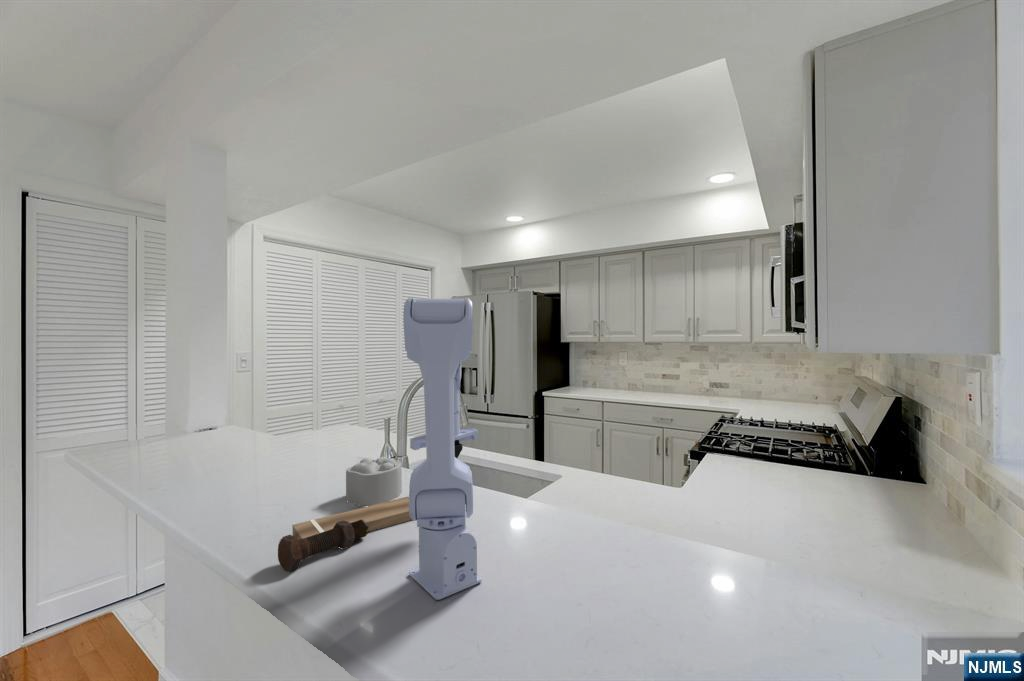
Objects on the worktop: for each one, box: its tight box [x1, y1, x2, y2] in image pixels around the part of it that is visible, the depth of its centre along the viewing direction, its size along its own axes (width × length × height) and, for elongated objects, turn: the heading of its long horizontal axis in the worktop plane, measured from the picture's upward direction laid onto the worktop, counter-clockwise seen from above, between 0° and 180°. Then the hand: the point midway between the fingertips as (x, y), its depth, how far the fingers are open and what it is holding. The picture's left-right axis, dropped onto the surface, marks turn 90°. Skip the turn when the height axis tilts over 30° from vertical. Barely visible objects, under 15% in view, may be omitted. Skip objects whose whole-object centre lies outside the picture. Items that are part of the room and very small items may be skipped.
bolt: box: [277, 520, 369, 573], centre depth 78 cm, size 6×5×15 cm
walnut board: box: [291, 496, 413, 539], centre depth 89 cm, size 8×24×2 cm, turn 129°
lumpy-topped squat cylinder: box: [345, 456, 403, 507], centre depth 106 cm, size 10×13×9 cm
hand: (445, 479), depth 88 cm, fingers closed
